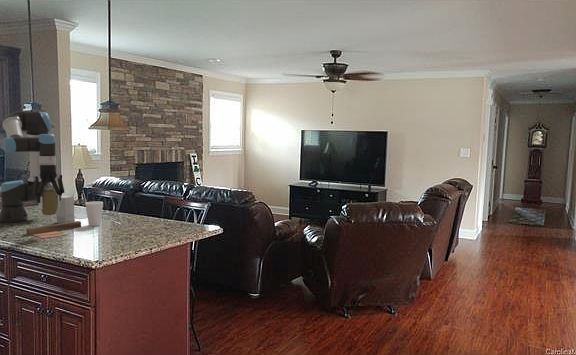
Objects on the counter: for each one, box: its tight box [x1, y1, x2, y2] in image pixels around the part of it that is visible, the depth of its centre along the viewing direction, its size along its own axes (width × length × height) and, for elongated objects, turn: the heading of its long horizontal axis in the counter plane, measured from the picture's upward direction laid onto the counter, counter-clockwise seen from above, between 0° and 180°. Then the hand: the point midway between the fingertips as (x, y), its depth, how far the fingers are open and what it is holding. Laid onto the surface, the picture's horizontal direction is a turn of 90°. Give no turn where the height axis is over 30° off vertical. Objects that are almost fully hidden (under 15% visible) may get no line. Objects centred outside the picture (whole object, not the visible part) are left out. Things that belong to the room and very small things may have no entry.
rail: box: [26, 220, 82, 240], centre depth 252 cm, size 16×28×3 cm, turn 142°
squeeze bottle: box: [41, 182, 58, 216], centre depth 243 cm, size 8×8×18 cm
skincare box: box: [55, 195, 76, 224], centre depth 276 cm, size 8×7×16 cm
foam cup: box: [84, 201, 104, 227], centre depth 272 cm, size 10×9×13 cm
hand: (49, 208), depth 244 cm, fingers closed on squeeze bottle, 8 cm apart
